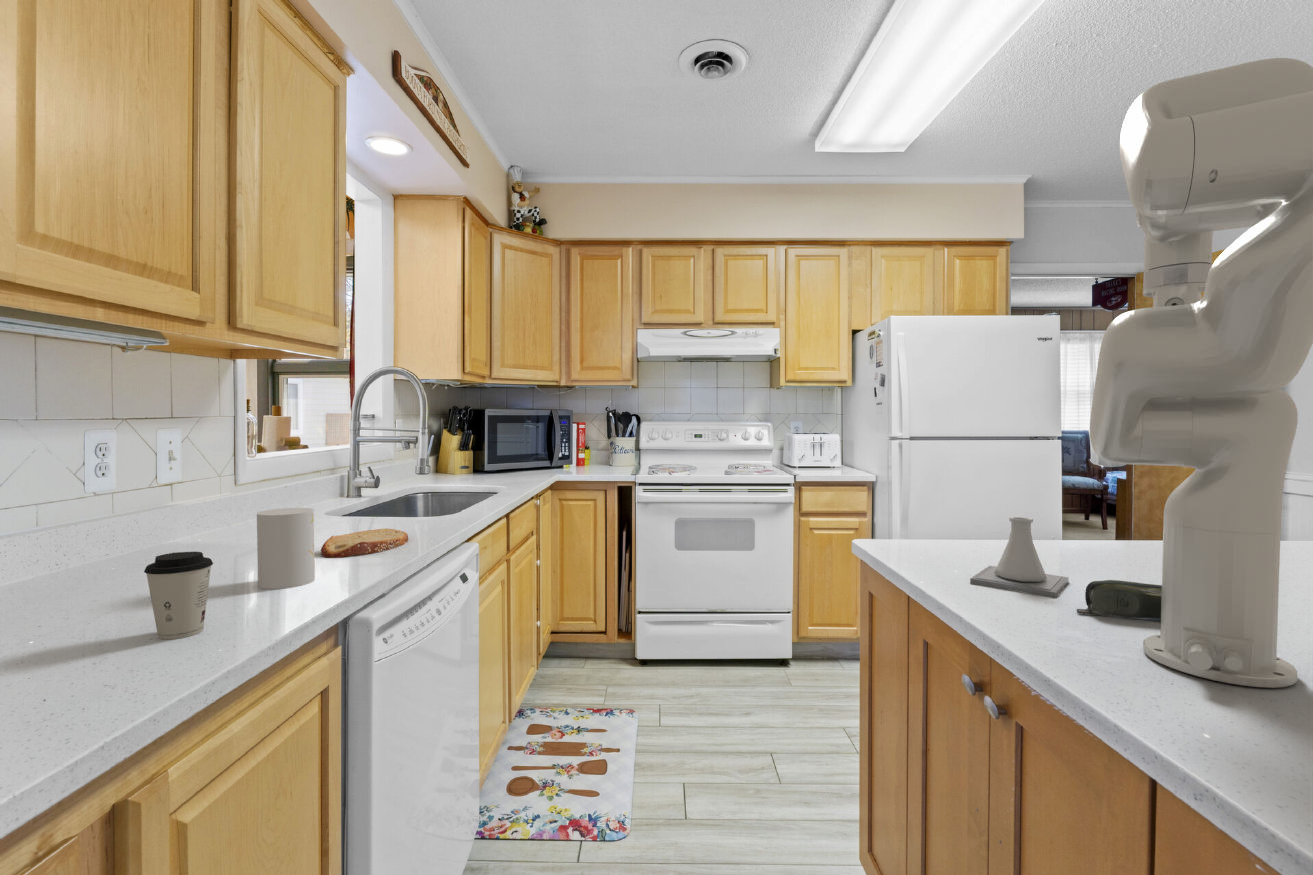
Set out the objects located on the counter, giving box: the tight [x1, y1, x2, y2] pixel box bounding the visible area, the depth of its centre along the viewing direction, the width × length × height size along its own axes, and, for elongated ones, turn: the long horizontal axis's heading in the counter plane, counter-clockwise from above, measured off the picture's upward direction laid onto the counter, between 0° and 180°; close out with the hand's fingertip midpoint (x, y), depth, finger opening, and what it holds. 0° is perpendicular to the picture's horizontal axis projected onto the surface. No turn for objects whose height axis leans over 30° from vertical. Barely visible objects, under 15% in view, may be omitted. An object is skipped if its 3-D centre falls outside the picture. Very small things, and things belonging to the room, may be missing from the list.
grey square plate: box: [969, 565, 1069, 598], centre depth 101 cm, size 12×12×1 cm
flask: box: [994, 516, 1047, 582], centre depth 101 cm, size 7×7×10 cm
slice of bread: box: [320, 528, 409, 559], centre depth 130 cm, size 18×18×4 cm
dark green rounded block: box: [1076, 579, 1162, 623], centre depth 84 cm, size 5×3×15 cm
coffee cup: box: [143, 551, 214, 640], centre depth 77 cm, size 7×7×10 cm
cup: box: [256, 507, 316, 590], centre depth 101 cm, size 8×8×12 cm
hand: (1173, 399), depth 88 cm, fingers open, 9 cm apart
